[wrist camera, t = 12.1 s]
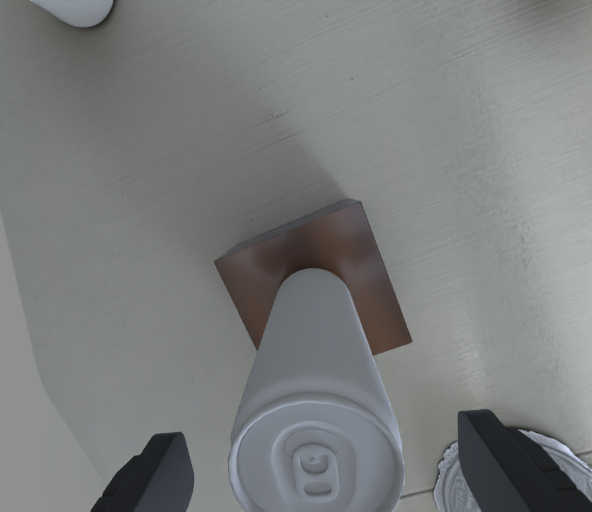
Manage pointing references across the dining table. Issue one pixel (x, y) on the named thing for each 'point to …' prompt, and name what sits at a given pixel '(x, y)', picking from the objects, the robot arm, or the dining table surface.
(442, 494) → the silver oval dome
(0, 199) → the dining table surface
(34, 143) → the dining table surface
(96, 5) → the drinking glass
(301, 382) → the beverage can
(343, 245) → the walnut block
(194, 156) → the dining table surface
